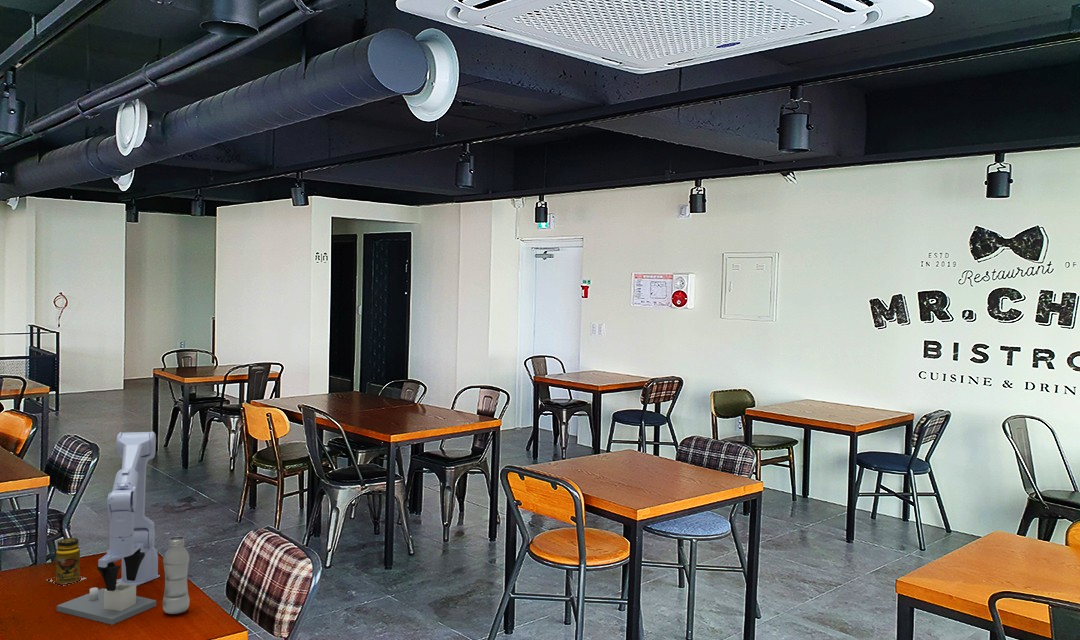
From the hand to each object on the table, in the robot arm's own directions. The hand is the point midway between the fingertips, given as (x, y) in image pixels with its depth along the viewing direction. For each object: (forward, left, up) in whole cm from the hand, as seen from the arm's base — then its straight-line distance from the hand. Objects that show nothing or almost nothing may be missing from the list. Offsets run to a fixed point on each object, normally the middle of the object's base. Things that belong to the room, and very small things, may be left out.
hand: (121, 585), depth 218 cm
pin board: (0, -5, -7) cm, 9 cm away
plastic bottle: (-6, +13, -7) cm, 16 cm away
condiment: (-10, -33, -7) cm, 35 cm away
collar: (0, 0, -6) cm, 6 cm away
